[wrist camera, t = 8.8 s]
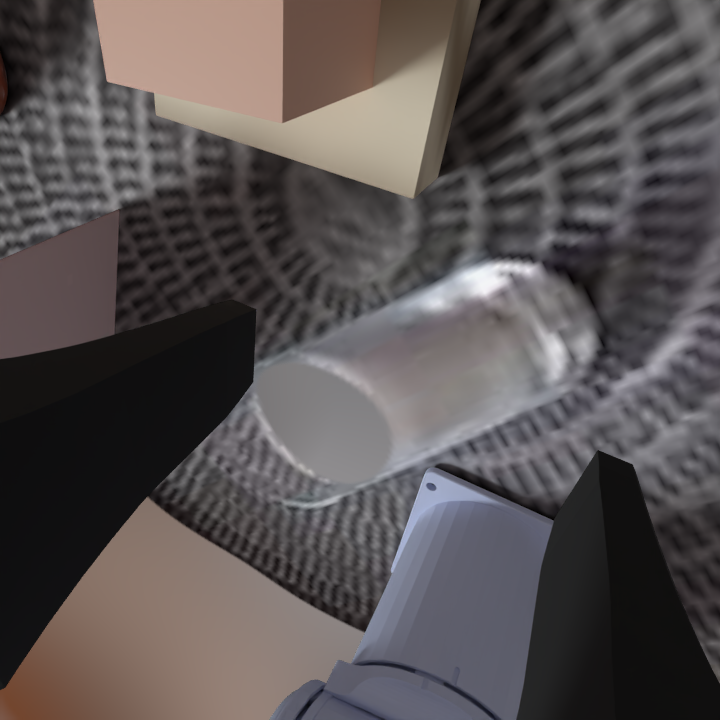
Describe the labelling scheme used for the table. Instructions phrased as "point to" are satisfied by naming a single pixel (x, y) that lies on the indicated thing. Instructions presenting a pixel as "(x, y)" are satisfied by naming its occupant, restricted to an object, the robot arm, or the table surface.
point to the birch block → (371, 104)
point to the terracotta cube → (242, 51)
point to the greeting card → (60, 290)
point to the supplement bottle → (3, 85)
